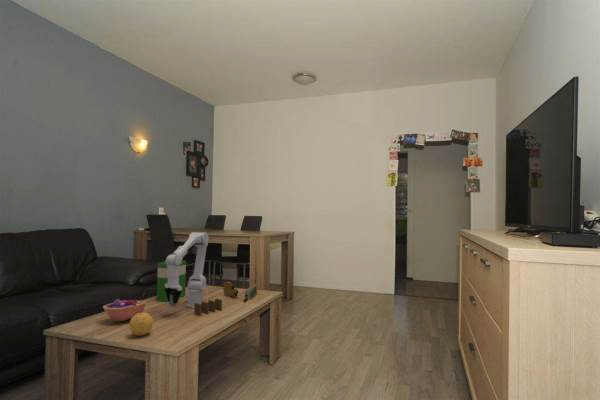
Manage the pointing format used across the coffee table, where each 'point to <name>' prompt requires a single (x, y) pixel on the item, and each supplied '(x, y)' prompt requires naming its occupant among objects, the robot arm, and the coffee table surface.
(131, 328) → the stress ball
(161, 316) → the coffee table surface
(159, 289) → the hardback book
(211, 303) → the domino
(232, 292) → the wooden carving
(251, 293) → the handheld radio
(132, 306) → the cell model
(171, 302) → the domino
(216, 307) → the domino
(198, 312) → the domino
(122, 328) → the coffee table surface
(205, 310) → the domino
